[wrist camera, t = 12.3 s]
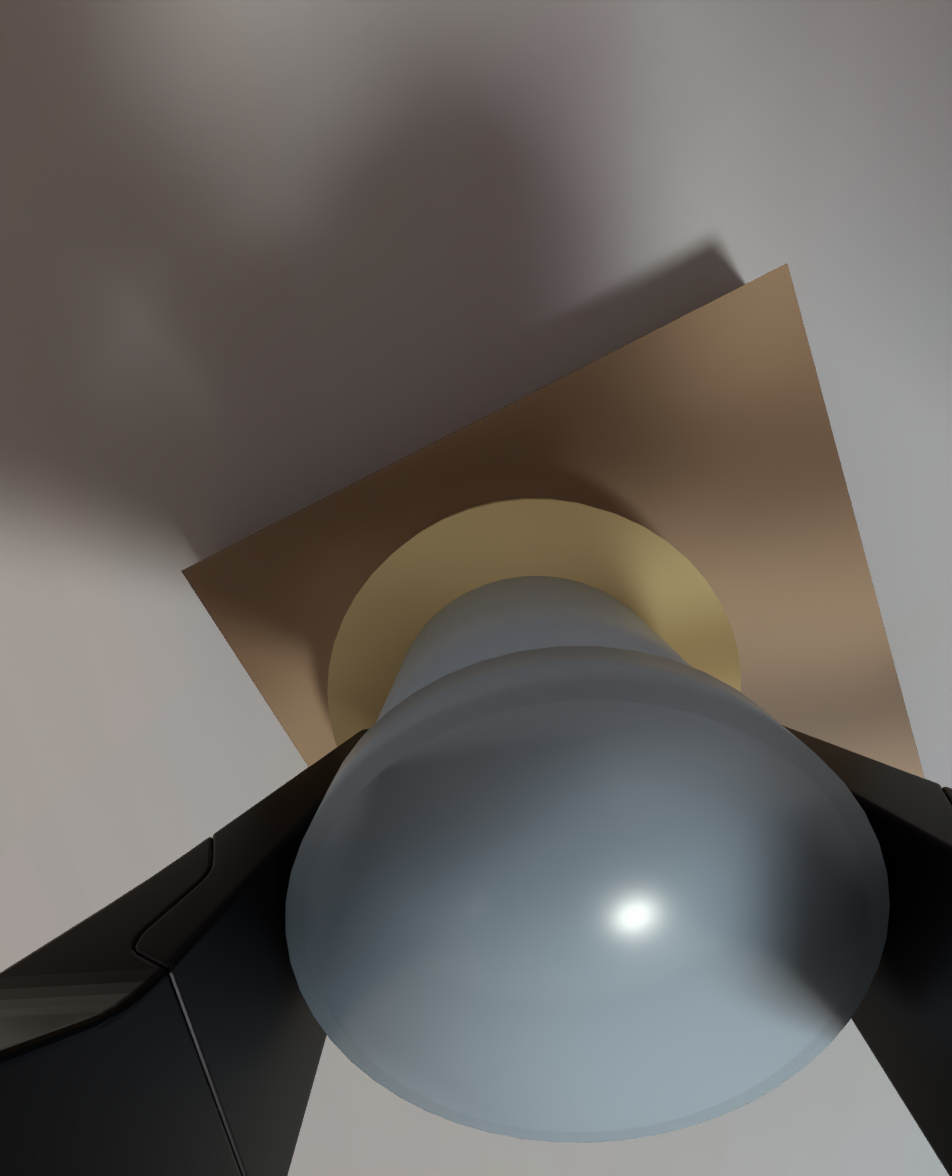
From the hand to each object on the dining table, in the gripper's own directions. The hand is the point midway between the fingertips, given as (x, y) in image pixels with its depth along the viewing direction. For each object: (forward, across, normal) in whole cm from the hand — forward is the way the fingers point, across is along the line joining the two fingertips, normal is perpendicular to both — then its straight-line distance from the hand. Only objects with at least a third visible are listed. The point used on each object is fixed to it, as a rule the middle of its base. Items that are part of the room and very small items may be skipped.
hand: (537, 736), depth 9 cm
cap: (+1, 0, 0) cm, 1 cm away
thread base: (+3, -2, +2) cm, 5 cm away
